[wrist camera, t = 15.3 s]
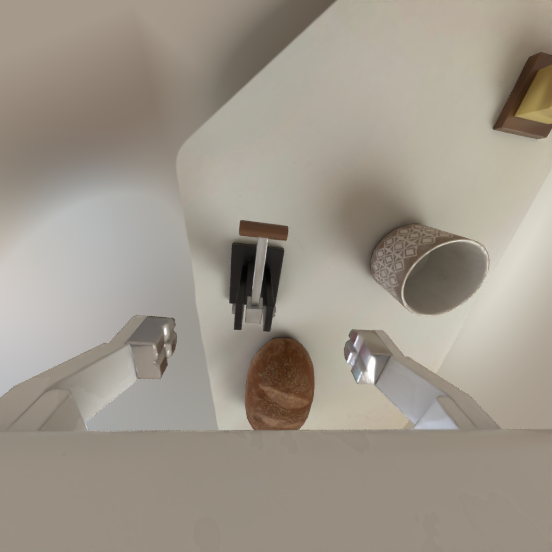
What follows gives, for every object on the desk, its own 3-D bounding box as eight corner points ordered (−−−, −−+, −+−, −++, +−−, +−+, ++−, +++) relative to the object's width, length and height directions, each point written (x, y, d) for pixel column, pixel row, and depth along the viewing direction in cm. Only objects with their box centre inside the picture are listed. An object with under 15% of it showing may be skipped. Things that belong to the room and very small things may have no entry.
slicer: (232, 242, 35) (219, 274, 23) (283, 248, 36) (294, 281, 25) (230, 300, 40) (218, 349, 29) (274, 303, 41) (280, 352, 30)
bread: (317, 334, 46) (333, 379, 36) (298, 410, 59) (307, 460, 48) (248, 332, 44) (245, 379, 34) (244, 411, 57) (241, 463, 47)
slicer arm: (241, 216, 21) (239, 225, 19) (287, 222, 22) (289, 231, 20) (236, 309, 30) (234, 322, 28) (270, 311, 30) (270, 324, 28)
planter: (376, 294, 42) (409, 327, 33) (359, 242, 37) (393, 265, 27) (436, 267, 40) (489, 295, 31) (428, 209, 35) (490, 221, 26)
